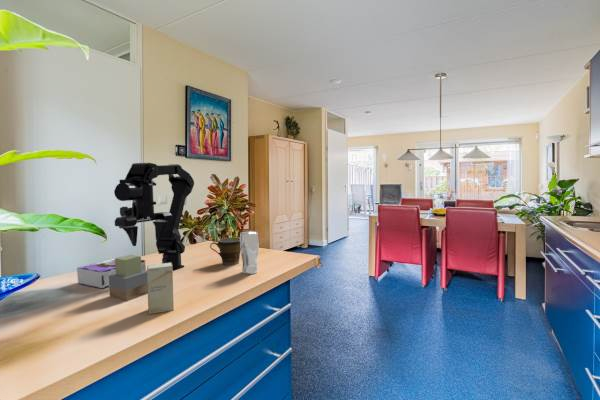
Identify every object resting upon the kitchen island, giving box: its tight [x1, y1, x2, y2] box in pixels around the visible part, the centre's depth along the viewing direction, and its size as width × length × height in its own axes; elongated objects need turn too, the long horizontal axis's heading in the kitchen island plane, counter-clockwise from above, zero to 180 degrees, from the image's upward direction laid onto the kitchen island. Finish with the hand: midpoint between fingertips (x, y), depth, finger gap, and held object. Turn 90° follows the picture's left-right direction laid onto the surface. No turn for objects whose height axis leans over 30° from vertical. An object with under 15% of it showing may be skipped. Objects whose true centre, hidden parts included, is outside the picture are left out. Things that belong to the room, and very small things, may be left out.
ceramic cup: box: [209, 237, 241, 266], centre depth 129 cm, size 13×10×10 cm
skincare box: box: [146, 262, 175, 315], centre depth 83 cm, size 6×4×12 cm
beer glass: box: [239, 230, 260, 275], centre depth 116 cm, size 7×7×15 cm
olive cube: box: [115, 254, 142, 277], centre depth 95 cm, size 5×5×5 cm
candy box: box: [76, 256, 147, 289], centre depth 111 cm, size 14×6×16 cm
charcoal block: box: [108, 269, 147, 290], centre depth 95 cm, size 8×8×4 cm
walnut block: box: [108, 283, 148, 302], centre depth 95 cm, size 8×8×4 cm
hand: (146, 243), depth 109 cm, fingers open, 9 cm apart
